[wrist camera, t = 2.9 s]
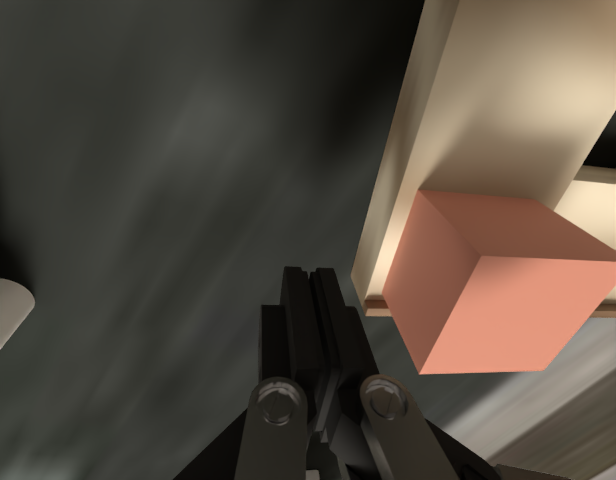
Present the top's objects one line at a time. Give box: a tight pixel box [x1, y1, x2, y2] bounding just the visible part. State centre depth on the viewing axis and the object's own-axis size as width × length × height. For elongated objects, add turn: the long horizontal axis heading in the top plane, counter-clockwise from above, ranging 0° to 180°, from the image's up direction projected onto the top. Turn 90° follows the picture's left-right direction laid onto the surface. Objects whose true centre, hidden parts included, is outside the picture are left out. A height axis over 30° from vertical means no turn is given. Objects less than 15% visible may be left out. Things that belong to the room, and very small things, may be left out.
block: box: [382, 190, 616, 374], centre depth 13 cm, size 6×6×4 cm
